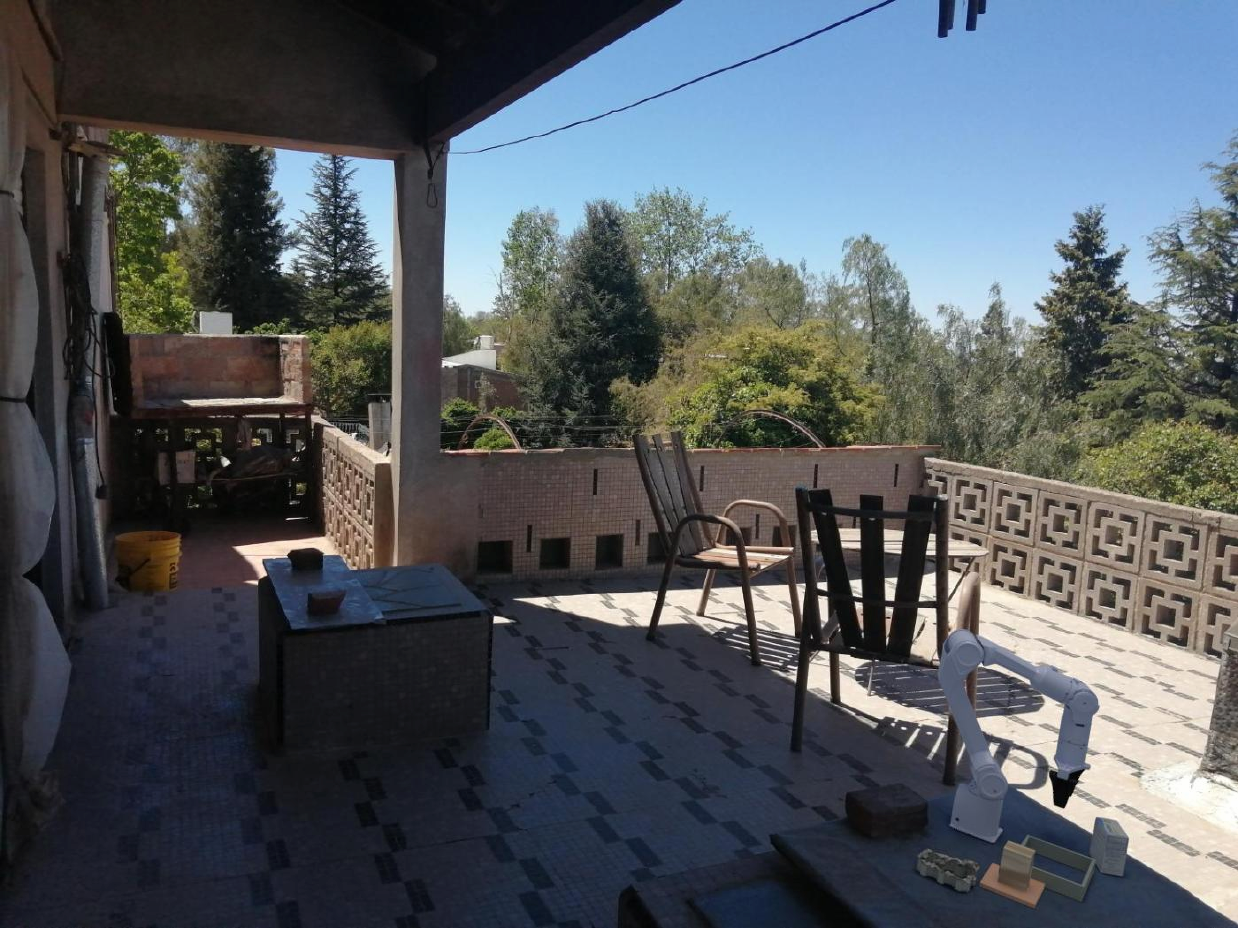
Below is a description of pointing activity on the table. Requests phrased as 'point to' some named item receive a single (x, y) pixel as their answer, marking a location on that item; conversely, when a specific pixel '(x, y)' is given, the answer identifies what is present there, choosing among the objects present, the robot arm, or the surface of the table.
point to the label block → (1016, 866)
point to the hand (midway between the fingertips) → (1062, 800)
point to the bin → (1066, 858)
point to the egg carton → (938, 863)
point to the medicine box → (1109, 846)
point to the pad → (1025, 898)
